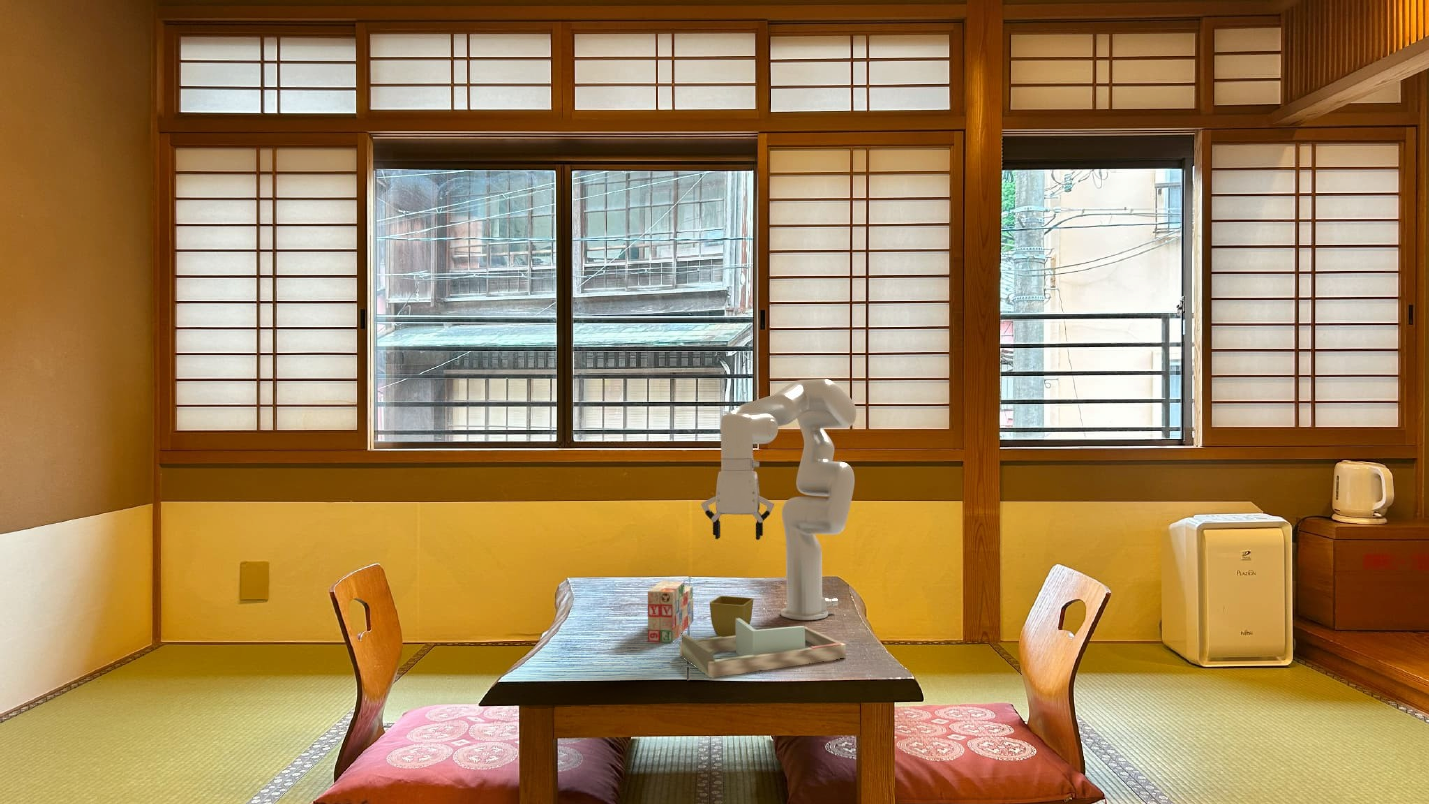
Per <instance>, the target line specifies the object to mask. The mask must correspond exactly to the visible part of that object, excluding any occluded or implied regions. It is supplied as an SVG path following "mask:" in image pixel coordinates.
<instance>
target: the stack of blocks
mask: <svg viewBox="0 0 1429 804" xmlns="http://www.w3.org/2000/svg"><path fill="white" fill-rule="evenodd" d="M693 588H694V587H693V586H692V585H685V581H683V580H681V581H679V580H677V581H673V580H661V581H659V582H658V583H657V584H655V585H654V586H653V587H652V588H650V589H648V591H647V642H649V641H650V643H670V642H673V641H674V640H675V641H676V640H677V639H678V638H679V637H680V636H682V634H683V633H684V632H685V630H686V629H687V628H688V627H689V626H691V624H692V623H693V622H694V597H693V596H694V595H693V593H694V592H693V591H694V589H693ZM682 632H683V633H682ZM681 633H682V634H681ZM679 635H680V636H679ZM675 641H674V642H675ZM674 642H673V643H674Z"/></svg>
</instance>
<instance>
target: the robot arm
mask: <svg viewBox="0 0 1429 804" xmlns="http://www.w3.org/2000/svg"><path fill="white" fill-rule="evenodd" d="M856 418H857V408H856V405H855V403H854V401H853V399H852V398H851V397H850V396H849V395H848V393H846V392H845V391H844V390H843V389H842V388H841V387H840V386H839V385H838V384H837V383H835V382H833V381H832V380H830V379H826V378H822V379H799V380H794V381H793V382H791V383H789V384H788V385H786V386H784V387H783V388H782V389H781V390H778V391H777V392H776V393H774V394H772V395H770V396H765V397H762V398H760V399H755V400H754V401H750V402H747V403H744V404H742V405H739V406H737V407H735V408H734V409H732V410H730V411H729V412H728V413H727V414H724V415H722V417H721V419H720V430H719V431H720V450H721V451H720V453H721V454H720V458H721V460H720V461H721V463H720V464H721V466H720V467H721V471H718V474H717V481H716V488H715V489H716V491H715V496H713V497H710V498H709V499H707V500H705V501H703V502H702V503H701V508H702V509H703V511H704V514H705V515H706V516H707V518H709V520H710V521H711V522H712V536H714V537H715V540H719V539H721V521H720V518H721V516H722V515H744V516H745V515H752V516H753V517H754V519H756V523H755V539H756V541H759V540H761V537H763V535H764V521H765V520H766V519H767V518H768V517H770V515H771V513H772V511H773V509H774V507H775V503H774V502H773V501H770V500H768V499H767V498H764V497H762V496H760V487H759V486H760V484H759V479H758V473H757V471H754V470H755V468H759V467H760V461H759V460H755V459H754V445H755V444H756V445H763V444H769V443H771V442H772V441H774V440H775V439H776V437H778V436H777V435H778V432H779V427H783V426H786V425H790V424H791V423H793V422H794V421H795V420H797V422H798V425H799V428H800V431H801V434H802V437H803V445H804V446H803V450H802V454H801V459H800V463H799V466H798V470H797V474H796V481H795V482H796V483H795V484H796V489H797V490H798V492H800V493H801V494H804V495H807V496H794V497H791V498H789V499H788V500H786V501H785V502H784V504H783V505H782V511H781V517H782V519H781V520H782V524H783V529H784V534H785V555H786V557H785V559H786V560H785V561H786V563H785V564H786V566H785V567H786V568H785V569H786V572H785V573H786V575H785V576H786V606H785V607H783V608H782V609H781V610H780V614H781V615H780V616H782V617H783V618H785V619H790V620H797V621H813V620H814V621H816V620H823V619H825V618H827V617H828V616H829V610H828V608H829V607H836V606H838V605H839V600H838V598H835V597H834V598H827V597H823V561H822V560H823V558H822V557H823V551H822V546H821V543H820V541H819V539H818V538H817V536H816V535H817V534H818V535H819V534H820V535H832V536H833V535H834V536H835V535H839V534H841V533H842V532H843V531H844V529H845V528H846V525H847V522H848V517H849V512H850V510H851V509H850V507H851V503H852V498H853V495H854V489H855V482H856V481H855V473H854V470H853V468H852V467H851V465H849V464H848V463H846V462H843V461H833V460H834V454H835V445H834V443H833V441H832V439H831V437H830V436H829V435H828V434H827V432H826V431H825V429H847V428H849V427H851V426H852V425H853V424H854V423H856V422H855V421H856V420H857V419H856ZM811 496H813V497H811ZM714 503H715V511H716V512H715V513H714V512H713V511H712V510H711V508H710V505H711V504H714ZM761 504H762V505H764V506H766V509H765V511H764V512H763V514H762V513H761V512H760V507H761ZM815 534H816V535H815Z"/></svg>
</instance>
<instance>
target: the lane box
mask: <svg viewBox="0 0 1429 804" xmlns="http://www.w3.org/2000/svg"><path fill="white" fill-rule="evenodd" d="M804 627H805V648H804V649H797V650H790V651H782V652H775V653H768V654H760V655H746V656H740V655H738V656H732V657H723V658H717V659H715V658H714V654H718V653H725V652H733V651H736V635H735V636H727V637H722V636H720V637H718V636H713V637H706V638H697V639H695V638H694V637H692V636H690V635H688V634H687V633H685V634H684V633H682V634H681V641H680V642H679V656H680V657H681V656H682V657H683V658H685V659H686V660H687V661H686V660H685V659H684V660H685V661H686V662H688V661H689V662H690V663H692V664H693V665H695V666H696V667H697V668H698V669H697V668H696V667H695V666H694V667H695V668H696V669H697V670H699V671H700V670H701V671H700V672H702V673H703V672H704V673H705V674H704V673H703V674H704V675H706V676H707V675H708V676H707V677H709V678H710V677H714V678H719V677H720V676H721V677H724V676H723V675H728V676H735V675H740V674H747V673H746V672H748V673H754V672H760V671H759V670H762V671H767V670H774V669H780V668H781V669H782V668H787V667H788V668H790V667H794V666H801V665H809V663H810V664H817V663H823V662H822V661H824V662H830V661H837V660H836V659H838V660H841V659H840V658H844V659H847V644H846V643H843V642H842V641H839V640H836V639H835V638H832V637H830V636H828V635H826V634H823V633H821V632H820V631H819V632H818V631H816V630H815V629H812V628H810V627H807V626H804ZM682 657H681V658H682ZM683 658H682V659H683ZM689 662H688V663H689ZM690 663H689V664H690ZM692 664H691V665H692ZM693 665H692V666H693Z"/></svg>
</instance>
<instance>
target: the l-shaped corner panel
mask: <svg viewBox="0 0 1429 804" xmlns="http://www.w3.org/2000/svg"><path fill="white" fill-rule="evenodd" d="M805 627H806V626H804V625H799V626H788V627H787V626H786V627H785V626H784V627H775V628H763V629H761V628H760V629H755V627H753V626H751V625H749V624H747V623H746V622H745V621H743V620H742V619H740V618H736V650H735V652H736V653H737V654H738V656H746V655H760V654H768V653H775V652H782V651H790V650H797V649H804V648H805Z"/></svg>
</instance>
